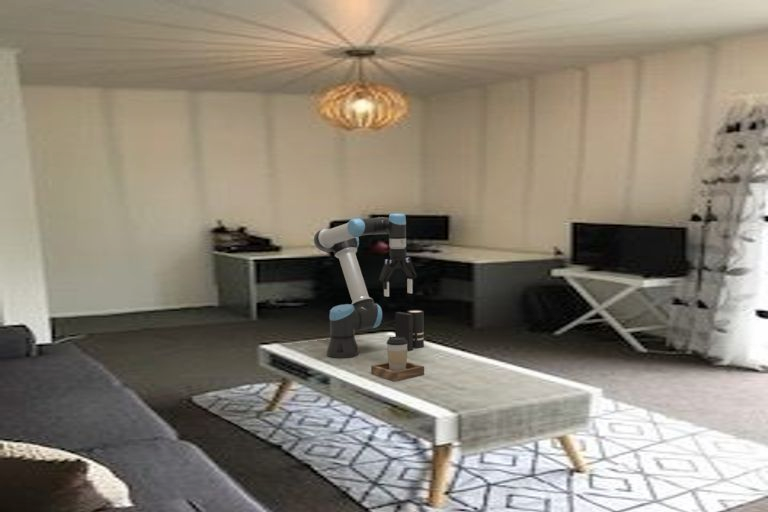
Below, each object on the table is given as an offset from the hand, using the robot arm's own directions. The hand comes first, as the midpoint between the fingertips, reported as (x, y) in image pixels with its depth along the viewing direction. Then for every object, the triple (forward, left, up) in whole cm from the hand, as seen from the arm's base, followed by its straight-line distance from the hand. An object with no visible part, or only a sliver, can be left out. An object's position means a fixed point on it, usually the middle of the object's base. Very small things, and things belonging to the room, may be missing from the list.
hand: (398, 294), depth 314 cm
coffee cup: (+17, -15, -30) cm, 37 cm away
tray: (+17, -15, -31) cm, 38 cm away
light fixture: (-18, +23, -31) cm, 42 cm away
